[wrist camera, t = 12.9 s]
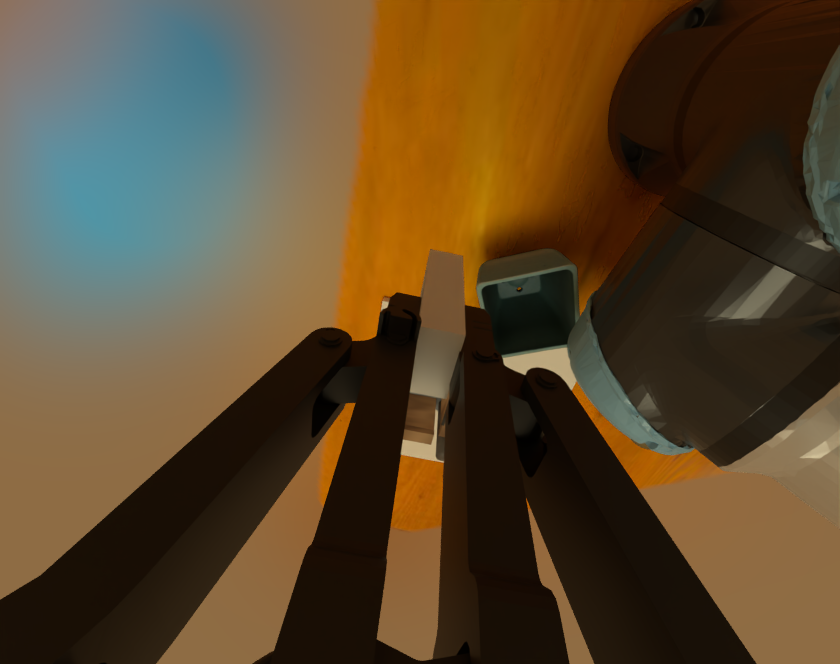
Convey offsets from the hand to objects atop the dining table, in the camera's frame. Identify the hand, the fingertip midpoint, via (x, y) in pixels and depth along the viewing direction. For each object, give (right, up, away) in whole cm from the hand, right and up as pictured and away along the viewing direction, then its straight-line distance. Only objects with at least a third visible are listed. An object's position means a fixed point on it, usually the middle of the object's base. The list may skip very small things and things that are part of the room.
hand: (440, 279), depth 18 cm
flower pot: (+10, +4, +26) cm, 28 cm away
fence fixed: (-2, -11, +35) cm, 37 cm away
